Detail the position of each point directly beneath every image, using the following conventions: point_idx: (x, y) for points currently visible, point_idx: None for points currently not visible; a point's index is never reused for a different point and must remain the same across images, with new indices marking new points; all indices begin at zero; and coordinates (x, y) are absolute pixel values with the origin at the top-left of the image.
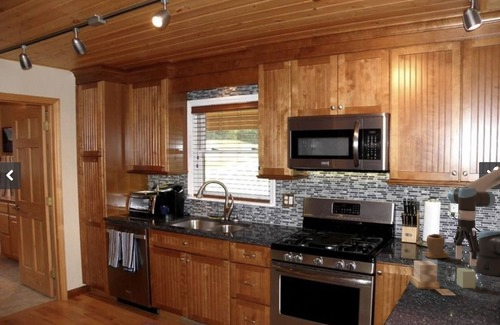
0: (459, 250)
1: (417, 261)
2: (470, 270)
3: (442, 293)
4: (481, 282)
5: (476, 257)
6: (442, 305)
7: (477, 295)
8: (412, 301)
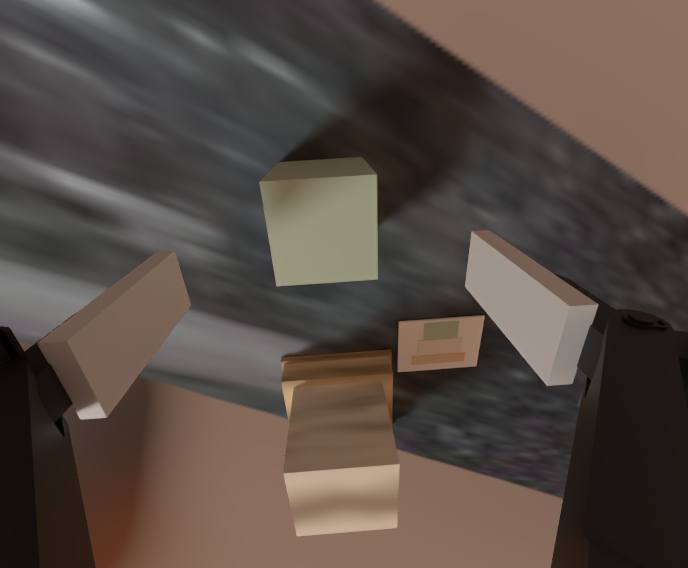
0: (131, 330)
1: (315, 526)
2: (337, 203)
3: (460, 362)
4: (207, 28)
5: (580, 287)
6: None
7: (492, 209)
8: (528, 463)
